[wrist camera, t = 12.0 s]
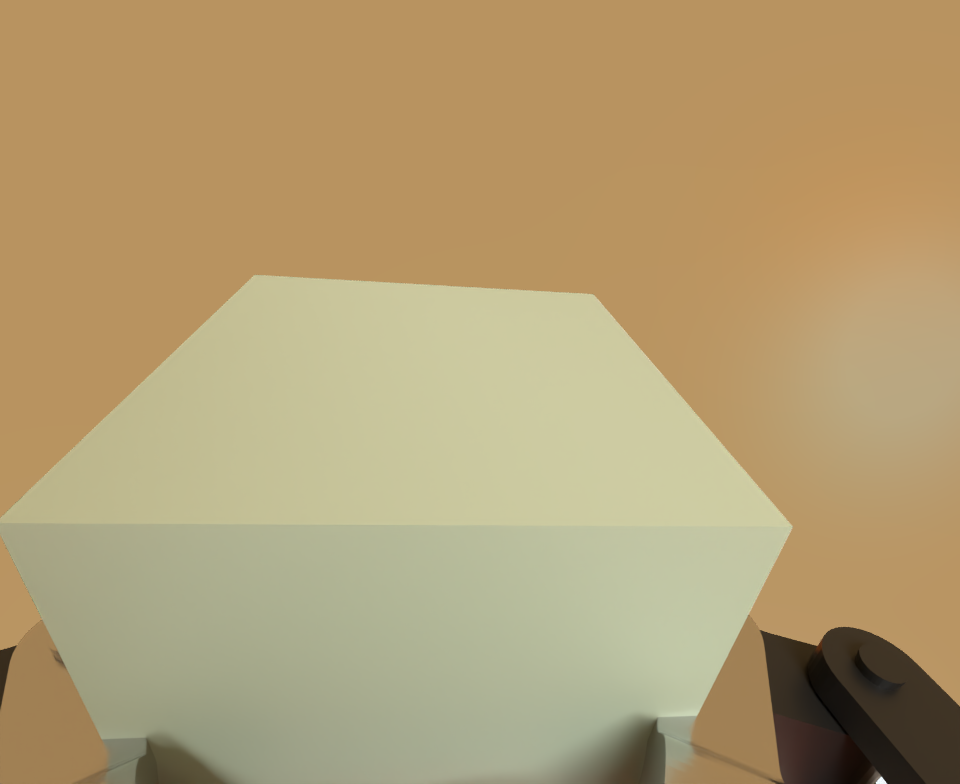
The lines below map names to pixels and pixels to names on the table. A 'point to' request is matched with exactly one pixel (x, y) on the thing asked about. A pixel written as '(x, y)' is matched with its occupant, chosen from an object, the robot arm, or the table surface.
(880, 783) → the table surface
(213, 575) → the sage block
